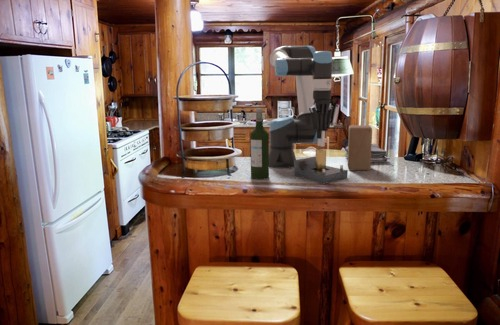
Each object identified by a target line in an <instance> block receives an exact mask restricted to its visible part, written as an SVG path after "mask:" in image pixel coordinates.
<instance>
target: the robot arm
mask: <svg viewBox="0 0 500 325" xmlns="http://www.w3.org/2000/svg"><path fill="white" fill-rule="evenodd" d="M268 60H269V64H270V65H271V66H272V67H273V68H274V74H275V76H277V77H295V84H296V96H297V98H296V99H297V106H298V107H297V109H298V115H297V116H296V117H295V118H296V119H295V118H294V117H293V116H288V117H287V116H285V117H278V118H274V119H272V120H270V122H269V168H275V169H276V168H278V169H279V168H280V169H282V168H283V169H284V168H285V169H286V168H287V169H288V168H293V167H294V160H297V159H296V154H295V151H294V144H317V147H325V146H326V145H325V144H326V143H325V142H326V141H325V140H326V136H327V135H326V134H327V131H328V130H329V129H330V127H331V121H332V117H333V116H332V115H333V111H334V109H335V106H334V105H331V101H330V100H331V99H332V90H331V89H332V79H333V78H332V77H333V76H332V72H333V70H332V69H333V53H332V51H329V50H319V51H318V50H317V51H316V48H315V47H314V46H312V45H307V44H304V45H282V46H279V47H276V48H274V49H272V51H271V52H270V54H269V57H268Z"/></svg>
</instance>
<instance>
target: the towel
mask: <svg viewBox="0 0 500 325" xmlns="http://www.w3.org/2000/svg"><path fill="white" fill-rule="evenodd" d="M344 152H345V153H344V156H345V158H346V159H348V145H347V146H346V147H345V149H344ZM387 155H388V153H387V151H386V150H385V149H382V148H380V147H379V145H377V143H372V146H371V164H373V162H374V163H387V162H388V159H389V158H388V156H387Z"/></svg>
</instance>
